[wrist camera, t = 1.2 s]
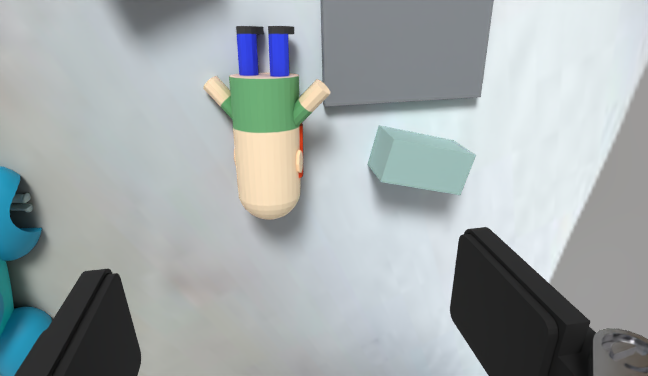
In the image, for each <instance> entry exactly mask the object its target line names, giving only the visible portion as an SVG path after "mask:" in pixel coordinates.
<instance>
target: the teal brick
mask: <svg viewBox="0 0 648 376" xmlns="http://www.w3.org/2000/svg"><path fill="white" fill-rule="evenodd" d="M475 156H476V155H475V154H473V153H472V152H470V151H469V150H467V149H466V148H464V147H463V146H461V145H460V144H458V143H457V142H455V141H454V140H449V139H444V138H439V137H434V136H429V135H424V134H419V133H415V132H410V131H405V130H400V129H395V128H390V127H385V126H380V125H379V127H378V130H377V134H376V137H375V141H374V144H373V147H372V151H371V154H370V158H369V161H368V166H369V167H370V168H371V170H372V171H373V172H374V174H375V175H376V176H377V178H378V179H379V180H380V182H384V183H390V184H396V185H402V186H408V187H414V188H420V189H426V190H432V191H438V192H444V193H450V194H456V195H461V192H462V190H463V187H464V184H465V182H466V179H467V177H468V174H469V172H470V169H471V167H472V164H473V162H474V159H475Z"/></svg>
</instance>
